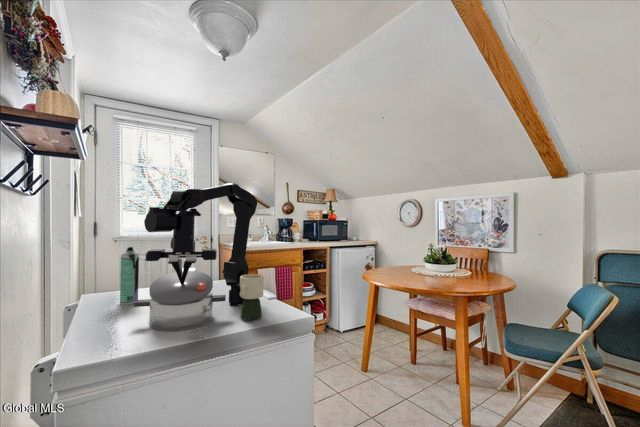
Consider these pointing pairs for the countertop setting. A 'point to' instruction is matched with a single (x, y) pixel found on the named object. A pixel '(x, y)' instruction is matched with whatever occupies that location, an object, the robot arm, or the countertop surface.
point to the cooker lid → (181, 288)
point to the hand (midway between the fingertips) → (182, 283)
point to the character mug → (251, 295)
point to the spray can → (129, 277)
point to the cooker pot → (180, 313)
